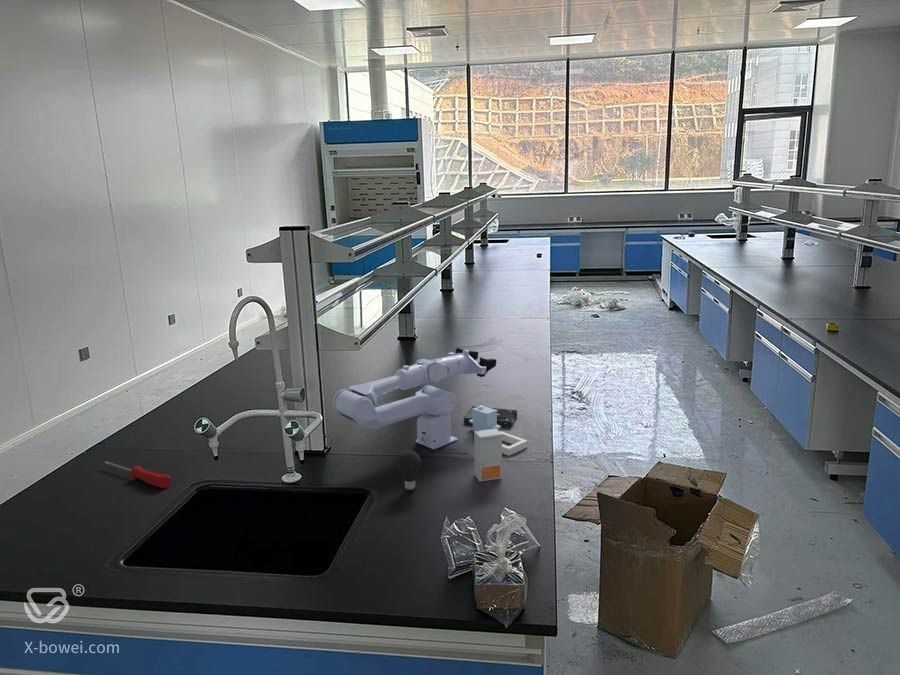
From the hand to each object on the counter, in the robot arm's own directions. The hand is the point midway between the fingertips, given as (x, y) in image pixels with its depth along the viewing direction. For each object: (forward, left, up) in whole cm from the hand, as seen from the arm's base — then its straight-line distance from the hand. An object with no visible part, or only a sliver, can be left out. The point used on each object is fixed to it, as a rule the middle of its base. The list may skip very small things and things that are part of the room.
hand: (486, 358), depth 190 cm
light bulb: (-45, -16, -21) cm, 52 cm away
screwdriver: (-90, +40, -21) cm, 100 cm away
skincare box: (-27, -25, -21) cm, 42 cm away
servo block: (-6, -4, -20) cm, 22 cm away
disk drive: (+3, +1, -21) cm, 21 cm away
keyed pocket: (-10, -16, -20) cm, 28 cm away
